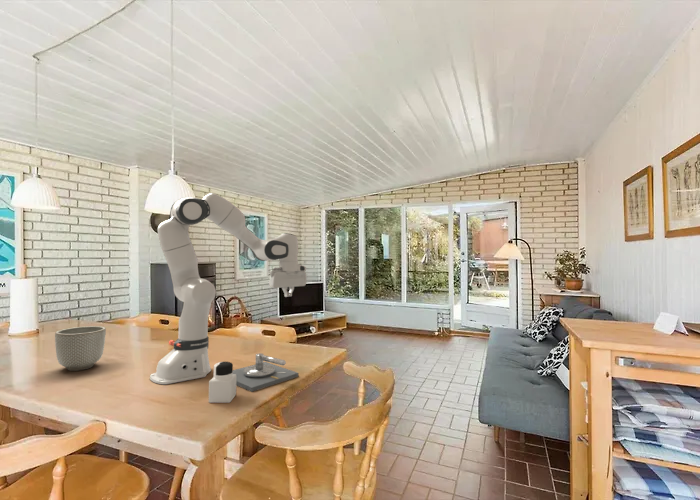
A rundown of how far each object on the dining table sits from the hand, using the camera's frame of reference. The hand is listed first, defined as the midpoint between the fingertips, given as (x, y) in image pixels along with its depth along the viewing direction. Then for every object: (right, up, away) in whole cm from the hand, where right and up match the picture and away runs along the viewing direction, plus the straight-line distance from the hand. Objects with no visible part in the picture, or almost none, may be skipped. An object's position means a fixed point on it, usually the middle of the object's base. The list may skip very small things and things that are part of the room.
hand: (288, 296), depth 171 cm
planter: (-85, -28, -19) cm, 91 cm away
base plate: (-7, -29, -28) cm, 40 cm away
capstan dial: (-3, -27, -30) cm, 40 cm away
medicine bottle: (-14, -28, -50) cm, 59 cm away
